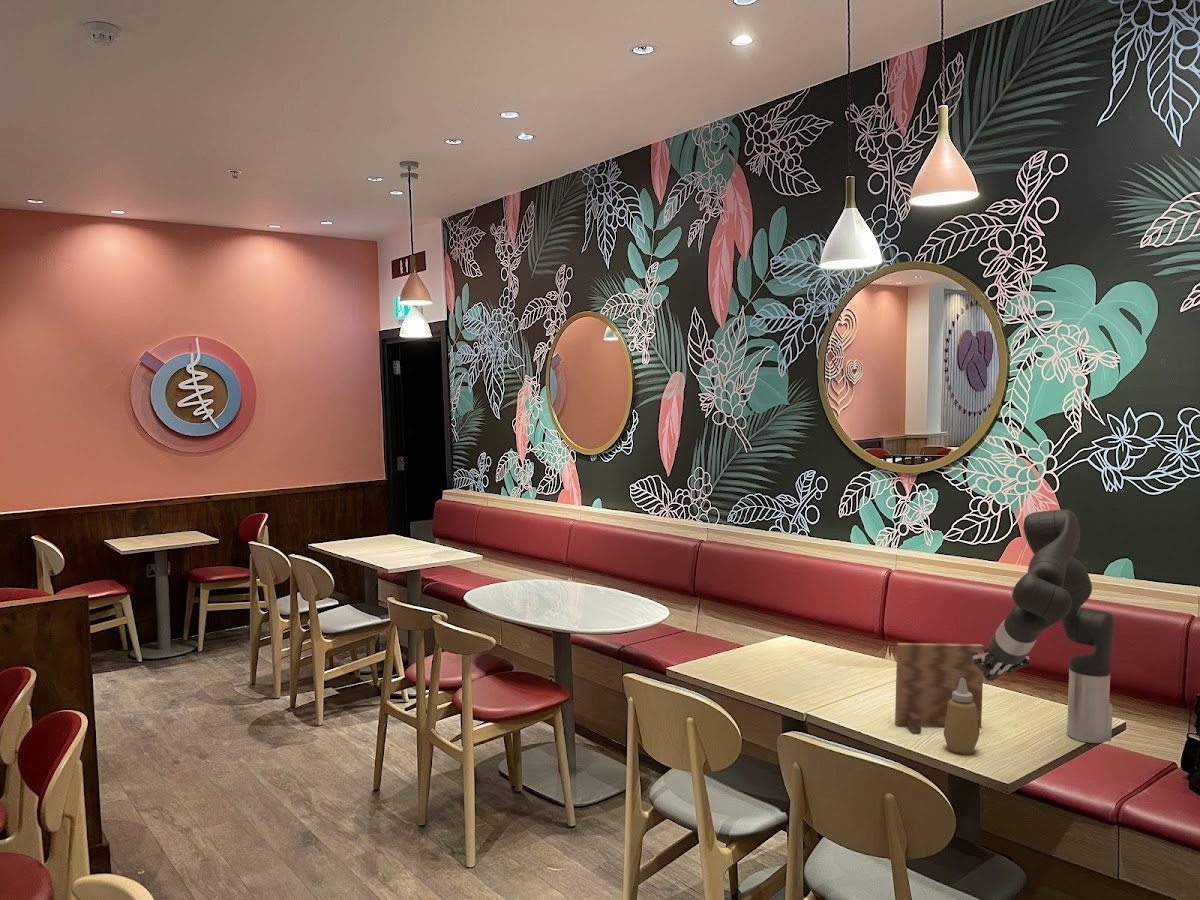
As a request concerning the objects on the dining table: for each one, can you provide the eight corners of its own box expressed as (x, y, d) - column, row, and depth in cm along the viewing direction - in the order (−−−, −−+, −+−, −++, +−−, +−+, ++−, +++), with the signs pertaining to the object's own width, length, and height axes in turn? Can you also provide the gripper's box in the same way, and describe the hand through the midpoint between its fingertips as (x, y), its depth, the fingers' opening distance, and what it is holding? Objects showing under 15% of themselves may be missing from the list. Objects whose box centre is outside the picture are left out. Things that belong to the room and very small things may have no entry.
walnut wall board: (978, 725, 237) (980, 644, 236) (988, 735, 230) (991, 651, 229) (894, 723, 238) (897, 642, 236) (903, 733, 231) (905, 650, 229)
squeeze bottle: (949, 741, 226) (951, 671, 225) (982, 749, 221) (984, 678, 220) (938, 750, 220) (940, 679, 219) (972, 759, 215) (974, 686, 214)
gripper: (1039, 624, 193) (1013, 662, 206) (978, 623, 194) (955, 661, 207) (1050, 655, 189) (1022, 692, 202) (987, 654, 189) (963, 691, 202)
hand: (988, 677), depth 204 cm, fingers closed
